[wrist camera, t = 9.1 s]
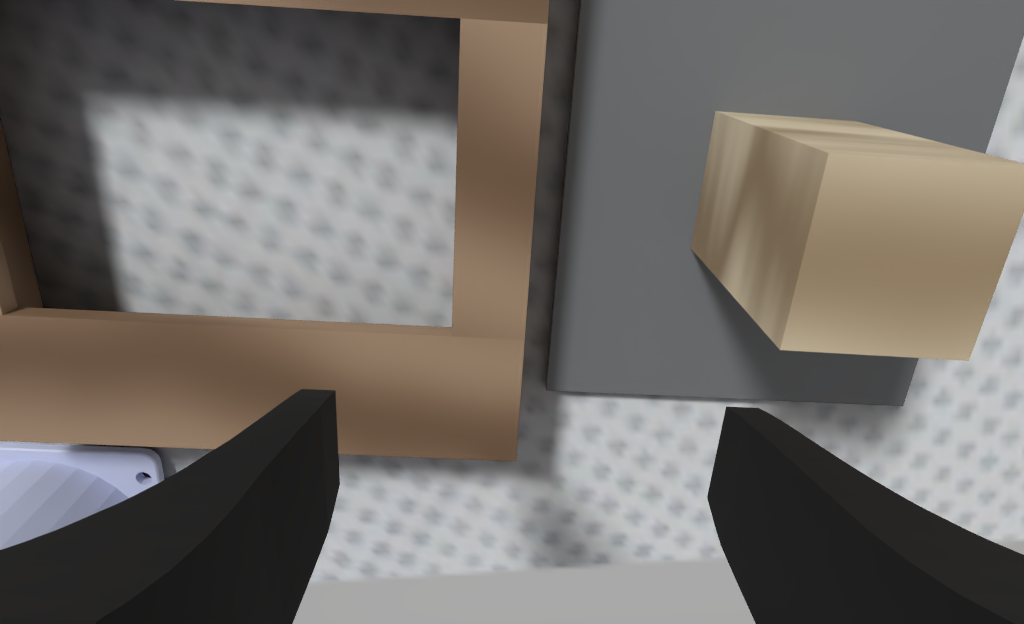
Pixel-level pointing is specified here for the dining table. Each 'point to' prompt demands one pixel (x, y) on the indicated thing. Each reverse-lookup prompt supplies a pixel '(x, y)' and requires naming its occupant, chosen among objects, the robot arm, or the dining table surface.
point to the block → (856, 233)
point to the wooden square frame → (315, 344)
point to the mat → (682, 160)
